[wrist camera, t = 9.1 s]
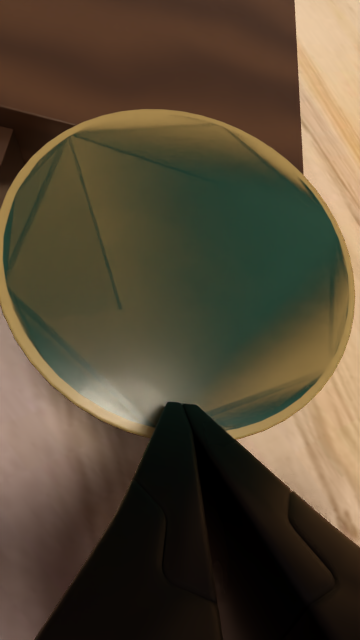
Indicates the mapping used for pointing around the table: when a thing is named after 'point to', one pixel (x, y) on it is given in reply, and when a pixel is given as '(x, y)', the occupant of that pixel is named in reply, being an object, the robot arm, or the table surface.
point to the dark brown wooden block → (146, 68)
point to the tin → (174, 272)
